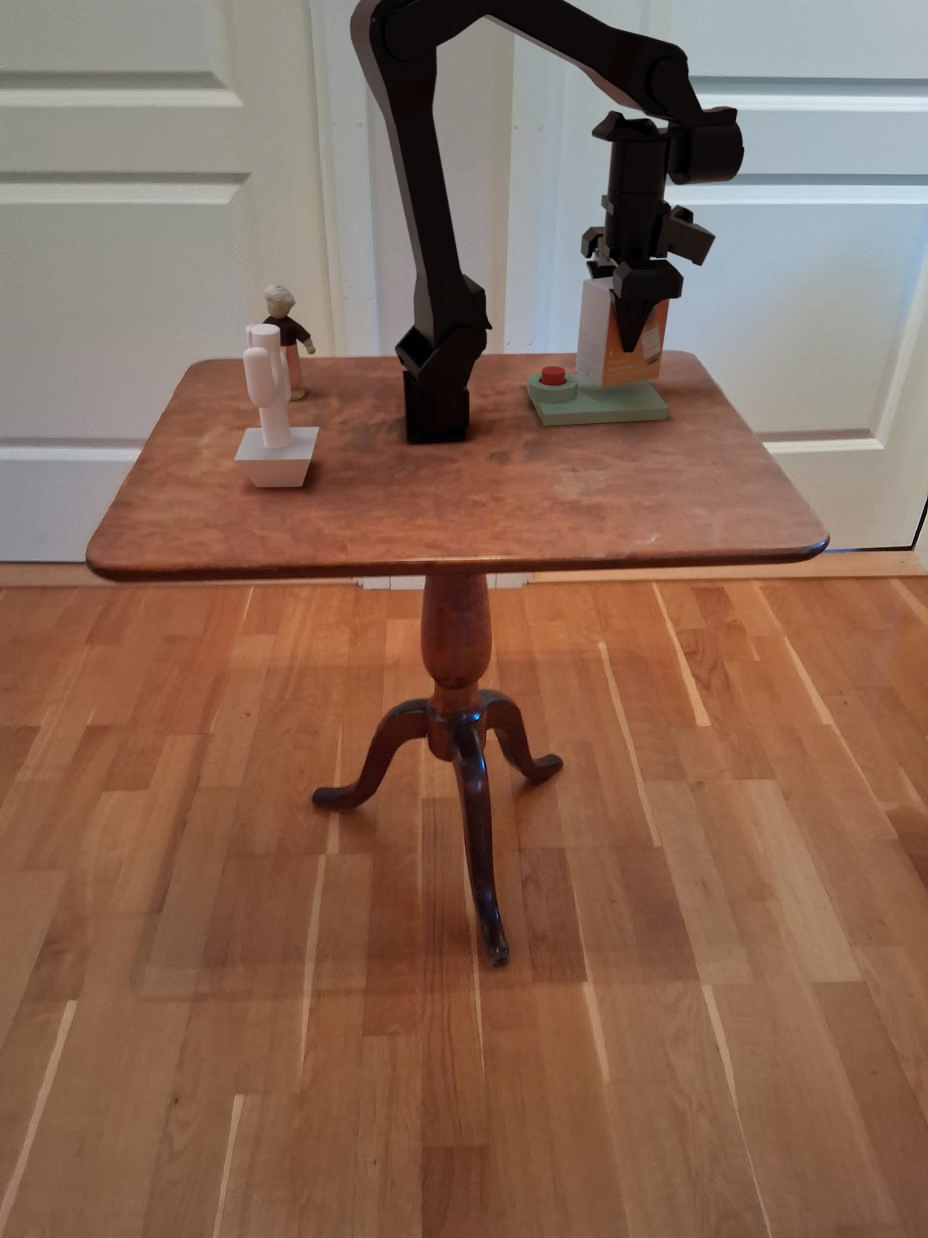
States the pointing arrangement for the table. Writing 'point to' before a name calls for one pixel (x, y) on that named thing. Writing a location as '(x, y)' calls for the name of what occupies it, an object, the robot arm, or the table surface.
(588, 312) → the small box
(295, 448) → the figurine
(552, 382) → the button
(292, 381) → the grandmother figurine
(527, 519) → the table surface
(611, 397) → the scale
